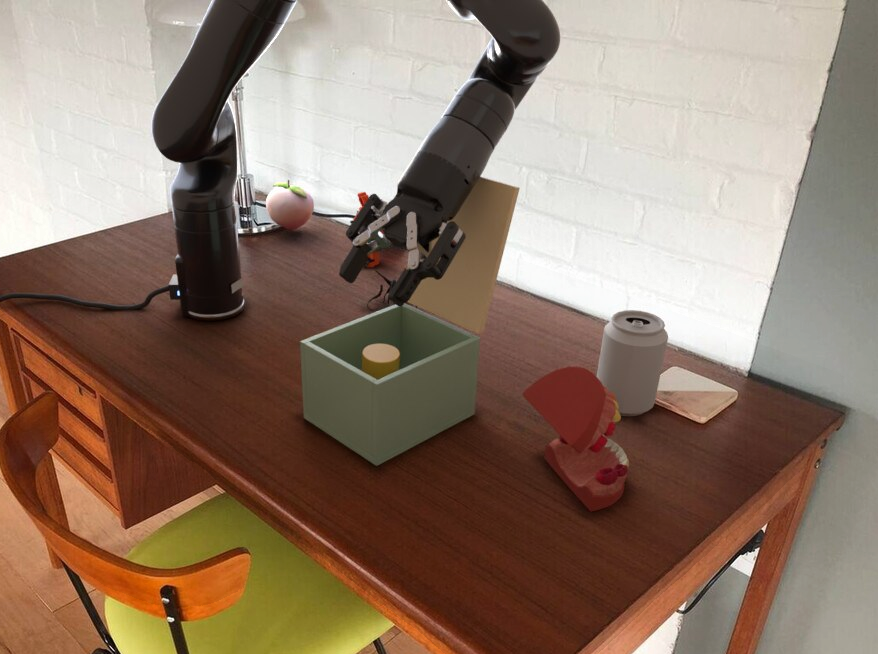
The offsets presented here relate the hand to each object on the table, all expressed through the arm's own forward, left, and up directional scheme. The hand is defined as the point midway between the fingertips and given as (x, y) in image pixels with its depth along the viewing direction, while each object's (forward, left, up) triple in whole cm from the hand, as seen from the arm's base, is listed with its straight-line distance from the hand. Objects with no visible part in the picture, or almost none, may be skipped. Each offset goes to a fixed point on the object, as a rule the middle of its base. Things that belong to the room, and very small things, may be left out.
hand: (369, 290), depth 93 cm
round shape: (+1, +1, -13) cm, 13 cm away
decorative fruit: (-13, +69, -18) cm, 73 cm away
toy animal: (+1, +52, -18) cm, 55 cm away
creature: (+5, +34, -18) cm, 39 cm away
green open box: (+3, +2, -18) cm, 18 cm away
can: (+33, +4, -18) cm, 38 cm away
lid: (+10, +9, +2) cm, 14 cm away
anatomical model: (+23, -12, -18) cm, 31 cm away
